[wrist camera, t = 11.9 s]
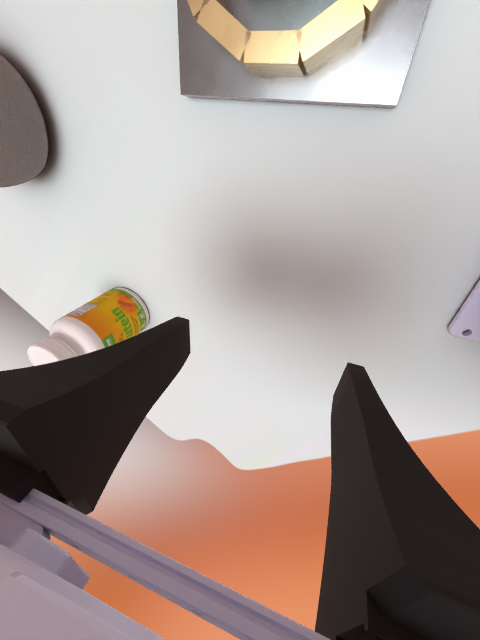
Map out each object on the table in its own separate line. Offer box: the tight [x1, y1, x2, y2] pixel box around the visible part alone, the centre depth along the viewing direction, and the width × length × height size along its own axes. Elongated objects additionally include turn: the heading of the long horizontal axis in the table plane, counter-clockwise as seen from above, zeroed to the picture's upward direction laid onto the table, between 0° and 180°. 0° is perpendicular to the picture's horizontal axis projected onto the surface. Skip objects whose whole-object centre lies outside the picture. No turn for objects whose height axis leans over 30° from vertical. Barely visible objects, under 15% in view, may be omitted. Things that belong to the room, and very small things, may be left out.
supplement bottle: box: [28, 288, 149, 366], centre depth 24 cm, size 5×5×10 cm
